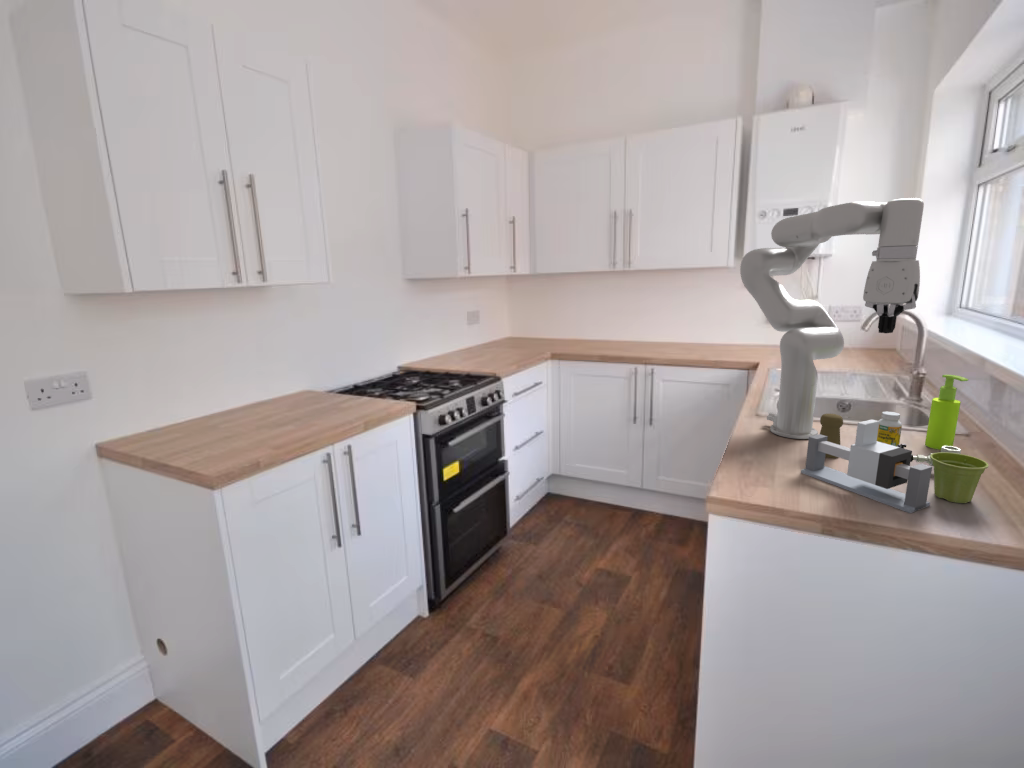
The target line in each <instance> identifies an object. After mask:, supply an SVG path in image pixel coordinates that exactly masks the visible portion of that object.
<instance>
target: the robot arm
mask: <svg viewBox="0 0 1024 768" xmlns="http://www.w3.org/2000/svg"><path fill="white" fill-rule="evenodd" d="M924 206H925V204H924V201H923V200H922V199H921V198H917V197H915V198H914V197H913V198H912V197H911V198H910V197H908V198H898V199H891V200H889V201H886V202H881V201H879V202H878V201H877V202H875V201H851V202H845V203H840V204H836V205H832V206H831V205H830V206H826V207H823V208H821V209H819V210H818V211H813V212H810V213H804V214H799V215H794V216H789V217H786V218H783V219H781V220H779V221H778V222H776V223H775V225H774V226H772V229H771V233H770V235H771V240H772V241H773V242H774V244H776V245H777V246H779V247H762V248H761V247H760V248H756V249H753V250H750V251H748V252H746V254H744V256H743V257H742V260H741V262H740V265H739V266H740V267H739V268H740V269H739V271H740V279H741V282H742V284H743V285H744V287H745V288H746V290H747V292H748V293H749V294H750V295H751V296H752V298H753V299H754V301H756V303H757V305H758V307H759V309H760V310H761V312H762V314H764V316H765V319H767V321H768V323H769V324H770V326H771V327H772V328H773V330H775V331H777V332H780V333H781V332H783V333H784V332H785V333H784V334H783V335H782V336H781V338H780V342H779V353H780V360H781V361H780V365H781V367H780V369H781V370H780V382H779V383H780V384H779V391H778V392H779V393H778V401H777V403H778V405H777V413H773V412H769V413H768V415H767V416H766V420H767V421H771V422H772V424H771V425H770V427H769V431H770V432H771V433H772V434H774V435H777V436H779V437H784V438H789V439H794V440H795V439H796V440H809V437H810V436H814V435H818V434H819V430H817V429H816V428H814V427H813V424H814V417H815V416H814V415H815V405H816V400H817V399H816V396H817V388H818V380H819V376H818V370H817V367H816V365H815V364H814V361H817V360H826V359H827V360H829V359H832V358H834V357H837V356H839V355H840V354H841V353H842V352H843V349H844V348H845V339H844V336H843V333H842V332H841V330H840V328H839V327H838V326H837V324H836V323H835V322H834V320H833V318H832V317H831V316H830V315H829V313H828V311H827V310H826V309H825V308H824V306H823V305H822V304H821V303H819V302H818V301H816V300H814V299H808V298H807V299H806V298H804V299H800V298H799V299H796V298H793V297H792V296H790V294H789V293H788V292H787V290H786V289H785V287H784V286H783V285H782V284H781V283H780V282H779V281H777V280H775V279H774V278H773V276H774V277H775V276H789V275H792V274H794V273H796V272H797V271H798V270H799V269H800V268H801V267H802V265H804V263H805V262H806V261H807V259H809V257H810V256H811V255H812V254H813V253H814V251H815V250H816V249H817V248H818V246H819V245H820V244H823V243H825V242H827V241H830V239H831V238H832V237H838V236H839V237H840V236H846V235H847V236H848V235H850V236H851V235H879V238H878V245H877V246H878V247H876V250H873V251H872V253H871V256H872V257H875V259H876V260H875V261H872V262H871V264H870V267H869V270H868V273H867V275H866V279H865V282H864V283H865V284H864V287H863V288H864V289H863V294H862V295H863V296H862V298H863V299H862V300H863V301H864V302H865V303H864V306H865V307H867V308H870V309H873V310H874V311H875V312H876V314H877V316H878V324H877V329H878V333H880V334H891V333H892V334H893V332H894V330H895V329H896V324H897V323H896V322H897V317H899V316H900V315H901V314H902V313H903V312H904V311H908V310H909V311H910V310H914V309H916V307H917V306H916V305H917V304H916V302H917V300H918V299H919V292H920V284H921V283H920V282H921V271H920V270H921V269H920V268H921V267H920V260H917V254H918V248H919V241H920V235H921V227H922V221H923V215H924Z"/></svg>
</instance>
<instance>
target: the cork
mask: <svg viewBox="0 0 1024 768" xmlns="http://www.w3.org/2000/svg"><path fill="white" fill-rule="evenodd" d="M819 422H820V425H821V428H820V431H819V434H821V435H824V436H828V438H827V441H828V442H831V443H835V444H838V445H841V428H842V426H843V425H844V418H843V416H841V415H839V414H836V413H824V414H822V415H821V416H820V419H819ZM825 459H839V457H836V456H833V455H830V454H826V455H825Z"/></svg>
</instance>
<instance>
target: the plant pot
mask: <svg viewBox="0 0 1024 768" xmlns="http://www.w3.org/2000/svg"><path fill="white" fill-rule="evenodd" d="M930 458H931V459H932V463H933V465H934V466H933V478H934V479H933V481H934V482H933V483H934V485H933V489H934V490H933V491H934V495H935V496H936V497H937V498H939V499H945V500H947V502H951V503H956V504H957V503H958V504H967V503H968V502H972V500H973V498H974V496H975V491H976V489H977V487H978V484H979V482H980V480H981V476H982V475H983V474H984V472H985V470H986V469H988V468H989V463H988V462H987V461H985V460H983V459H980V458H978V457H974V456H972V455H968V454H962V453H961V454H957V453H948V452H941V451H940V452H933V453H932V454H931V455H930Z"/></svg>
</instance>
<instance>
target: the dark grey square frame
mask: <svg viewBox="0 0 1024 768" xmlns="http://www.w3.org/2000/svg"><path fill="white" fill-rule="evenodd" d="M912 454H913V451H912V450H910V449H906V448H905V447H904V448H896V449H893V450H889V451H886V452H882V453H880V455H879V461H878V468H877V475H876V482H875V485H877V486H880V487H882V488H885V489H889V488H890V489H892V488H895V487H897V486H898V487H899V486H901V485H904V484H907V483H908V479H905V478H901V477H898V476H894V469H895V463H896V462H903V464H905V465H908V466H911V463H912V462H911V456H912Z"/></svg>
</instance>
